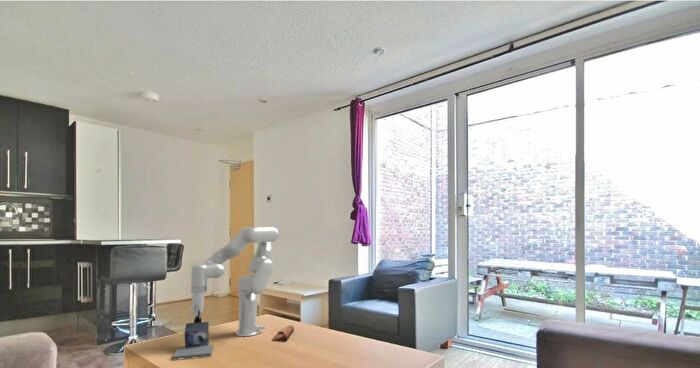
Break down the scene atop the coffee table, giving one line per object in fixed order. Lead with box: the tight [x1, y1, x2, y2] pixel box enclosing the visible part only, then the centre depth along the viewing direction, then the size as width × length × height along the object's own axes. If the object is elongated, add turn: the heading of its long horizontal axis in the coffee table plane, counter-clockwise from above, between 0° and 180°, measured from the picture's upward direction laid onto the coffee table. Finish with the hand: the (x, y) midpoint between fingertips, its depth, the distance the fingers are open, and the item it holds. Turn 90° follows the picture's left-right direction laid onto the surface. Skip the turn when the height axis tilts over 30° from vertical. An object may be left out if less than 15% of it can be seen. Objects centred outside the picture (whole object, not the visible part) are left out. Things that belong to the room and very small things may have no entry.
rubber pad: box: [172, 344, 214, 360], centre depth 174 cm, size 16×12×2 cm
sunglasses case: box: [271, 325, 295, 343], centre depth 200 cm, size 18×7×7 cm, turn 177°
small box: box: [184, 321, 210, 347], centre depth 183 cm, size 11×6×10 cm, turn 105°
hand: (197, 326), depth 186 cm, fingers closed
